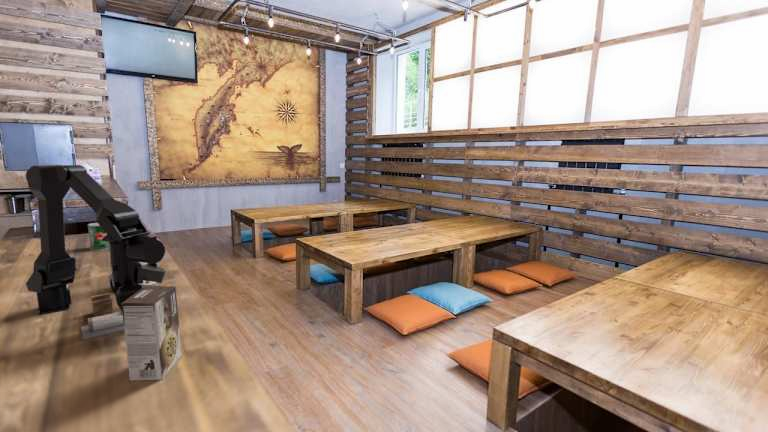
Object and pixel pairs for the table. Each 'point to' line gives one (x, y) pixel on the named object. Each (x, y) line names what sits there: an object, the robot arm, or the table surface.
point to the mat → (99, 331)
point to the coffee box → (151, 332)
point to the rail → (105, 321)
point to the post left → (102, 305)
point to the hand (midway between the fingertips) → (130, 317)
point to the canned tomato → (97, 237)
